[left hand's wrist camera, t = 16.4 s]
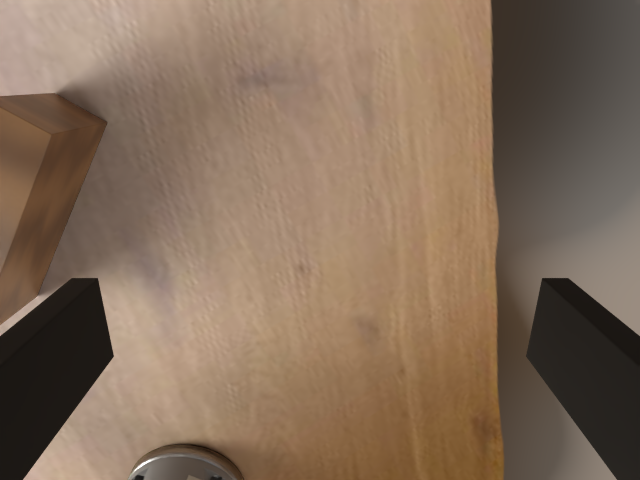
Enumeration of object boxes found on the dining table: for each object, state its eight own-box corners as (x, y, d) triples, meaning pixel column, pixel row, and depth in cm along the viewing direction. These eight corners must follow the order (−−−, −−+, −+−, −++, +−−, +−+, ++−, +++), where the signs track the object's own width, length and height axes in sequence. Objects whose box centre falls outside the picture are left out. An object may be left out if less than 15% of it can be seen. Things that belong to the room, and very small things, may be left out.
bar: (37, 296, 47) (-25, 344, 38) (-11, 274, 46) (-85, 318, 37) (107, 122, 40) (51, 134, 32) (54, 92, 39) (-18, 97, 31)
